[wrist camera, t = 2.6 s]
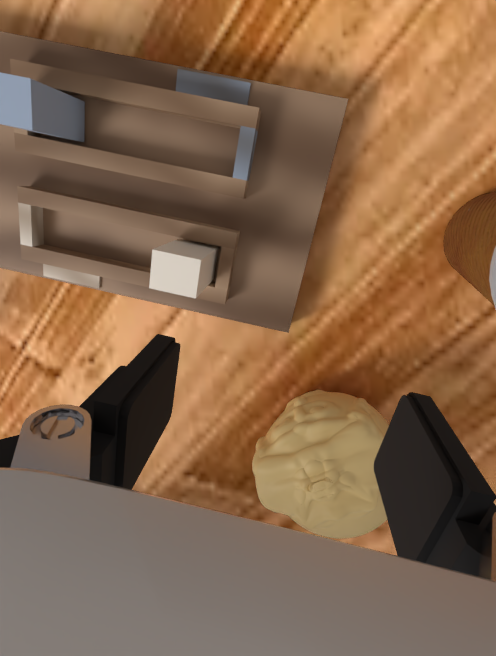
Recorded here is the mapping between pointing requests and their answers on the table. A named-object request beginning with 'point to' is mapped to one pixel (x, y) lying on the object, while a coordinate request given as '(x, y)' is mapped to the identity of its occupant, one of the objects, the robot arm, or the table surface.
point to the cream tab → (183, 267)
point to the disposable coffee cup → (474, 244)
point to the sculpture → (323, 464)
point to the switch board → (166, 179)
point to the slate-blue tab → (40, 108)
